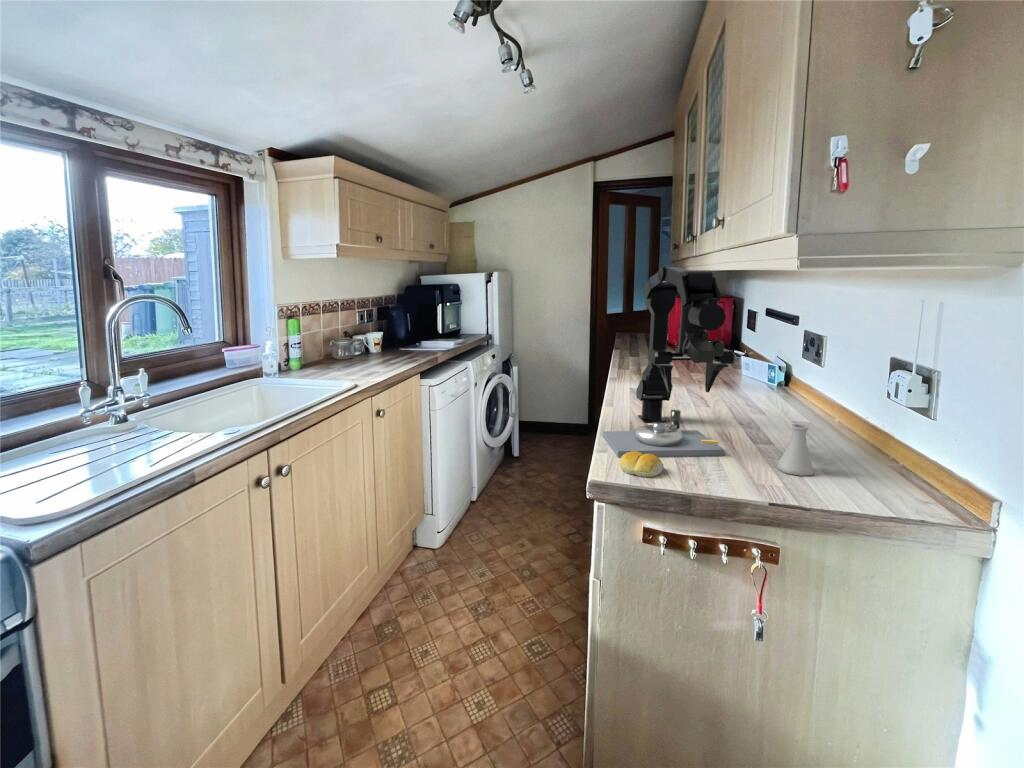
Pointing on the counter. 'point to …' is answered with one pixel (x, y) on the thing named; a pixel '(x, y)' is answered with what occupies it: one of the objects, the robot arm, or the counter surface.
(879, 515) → the counter surface
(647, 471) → the bread roll
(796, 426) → the flask
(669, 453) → the slate board
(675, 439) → the silver round handled piece
